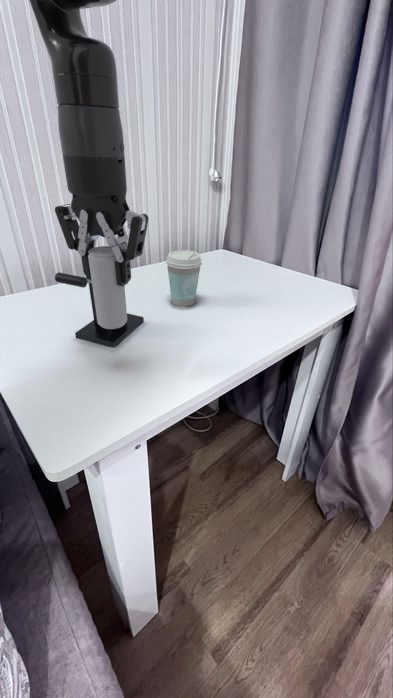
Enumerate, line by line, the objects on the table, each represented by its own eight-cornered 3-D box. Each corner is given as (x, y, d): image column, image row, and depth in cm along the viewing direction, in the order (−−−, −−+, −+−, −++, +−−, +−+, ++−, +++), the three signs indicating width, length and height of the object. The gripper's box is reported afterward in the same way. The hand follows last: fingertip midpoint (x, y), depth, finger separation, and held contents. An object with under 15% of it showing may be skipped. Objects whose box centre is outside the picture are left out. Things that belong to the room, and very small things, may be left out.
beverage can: (133, 321, 55) (128, 249, 49) (112, 333, 52) (104, 257, 45) (112, 314, 57) (104, 244, 51) (91, 324, 54) (80, 251, 47)
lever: (80, 289, 54) (81, 275, 54) (54, 284, 56) (55, 269, 55) (120, 288, 65) (122, 276, 65) (98, 284, 67) (99, 272, 66)
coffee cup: (179, 312, 79) (180, 262, 72) (159, 299, 84) (158, 252, 78) (207, 303, 83) (209, 256, 77) (186, 292, 89) (187, 247, 82)
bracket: (113, 347, 65) (106, 286, 58) (75, 337, 67) (64, 277, 60) (143, 321, 74) (141, 265, 67) (109, 313, 77) (103, 259, 70)
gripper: (25, 149, 40) (53, 281, 50) (127, 156, 36) (136, 299, 46) (67, 148, 46) (84, 266, 56) (158, 154, 42) (161, 281, 52)
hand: (108, 280), depth 51 cm, fingers closed on beverage can, 5 cm apart
